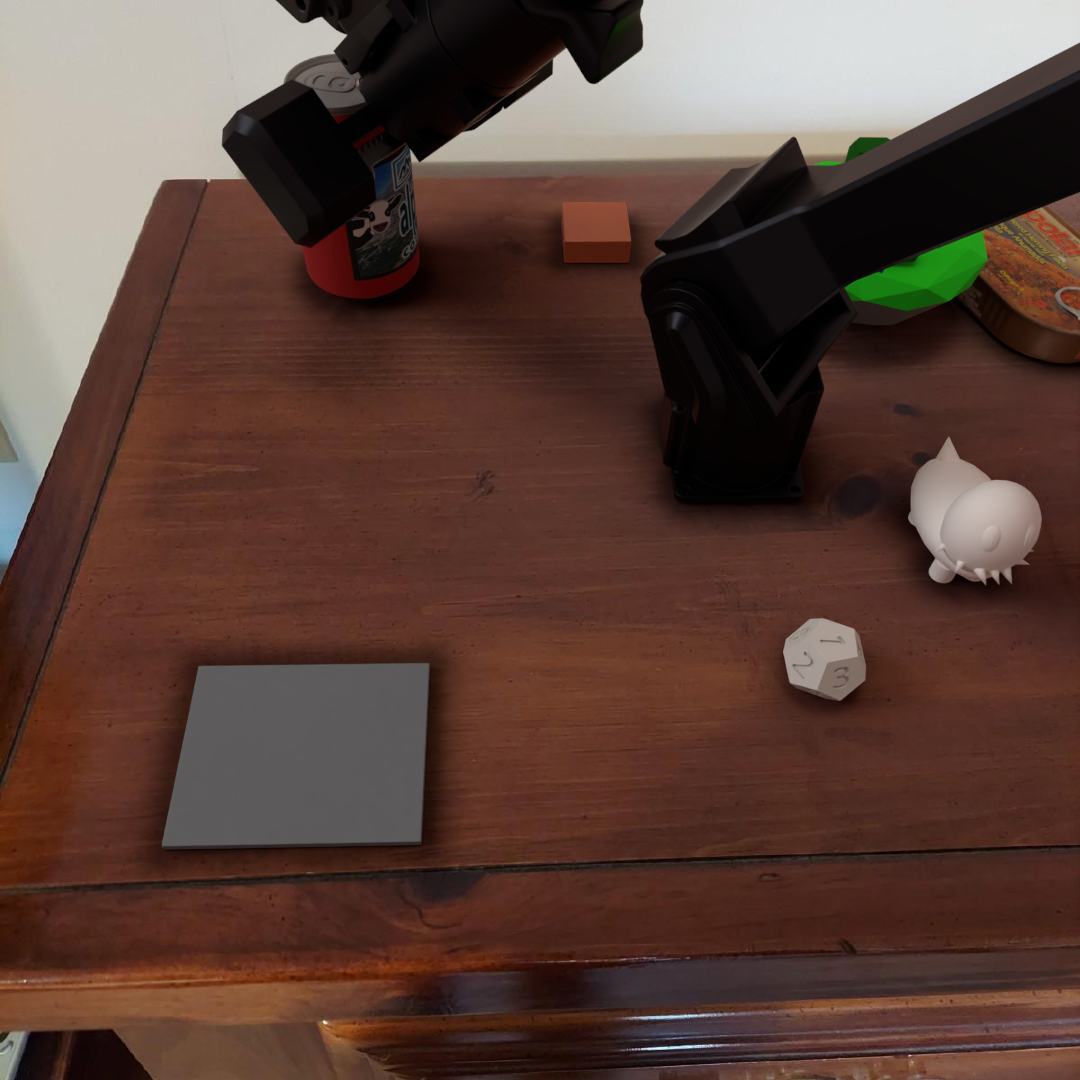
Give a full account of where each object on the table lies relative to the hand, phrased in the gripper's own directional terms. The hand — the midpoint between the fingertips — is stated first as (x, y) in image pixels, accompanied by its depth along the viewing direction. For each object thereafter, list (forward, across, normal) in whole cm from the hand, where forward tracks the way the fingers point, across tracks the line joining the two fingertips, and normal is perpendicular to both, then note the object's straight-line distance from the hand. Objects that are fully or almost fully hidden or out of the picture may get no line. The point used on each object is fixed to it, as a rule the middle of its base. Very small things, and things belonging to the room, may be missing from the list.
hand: (331, 165), depth 56 cm
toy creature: (-22, -1, +32) cm, 39 cm away
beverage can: (+4, 0, +6) cm, 7 cm away
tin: (-18, -19, +26) cm, 37 cm away
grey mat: (-10, +25, +19) cm, 33 cm away
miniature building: (-14, -15, +23) cm, 31 cm away
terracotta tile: (-3, -11, +12) cm, 17 cm away
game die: (-20, +9, +30) cm, 38 cm away
